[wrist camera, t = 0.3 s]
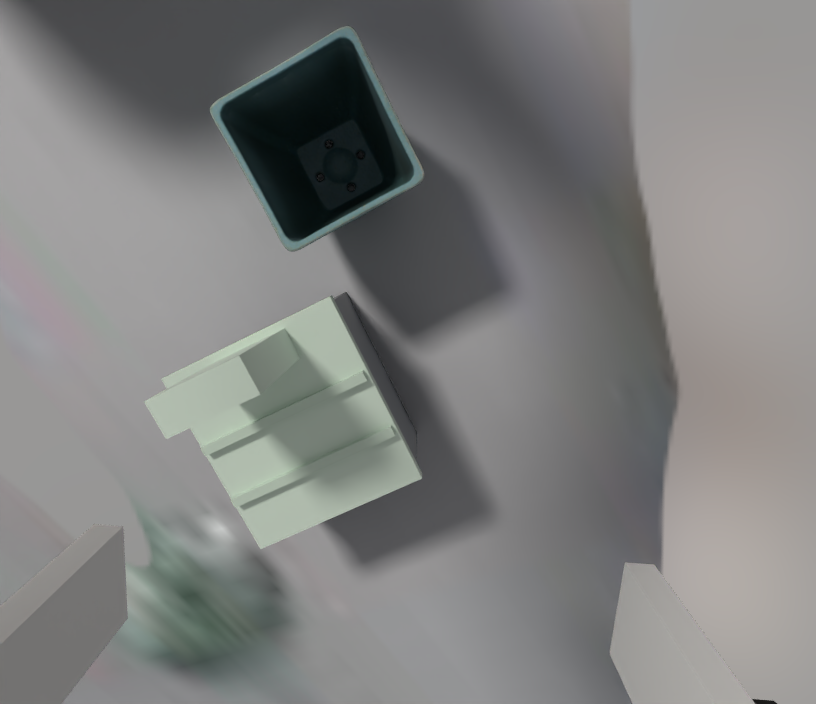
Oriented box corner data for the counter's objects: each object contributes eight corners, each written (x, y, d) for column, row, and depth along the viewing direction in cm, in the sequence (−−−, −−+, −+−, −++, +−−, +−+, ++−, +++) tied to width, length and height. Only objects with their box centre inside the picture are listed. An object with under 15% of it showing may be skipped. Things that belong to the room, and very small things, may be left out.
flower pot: (427, 194, 37) (428, 178, 28) (318, 253, 38) (287, 255, 29) (368, 75, 36) (350, 19, 27) (256, 139, 37) (205, 105, 28)
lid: (173, 372, 34) (77, 421, 24) (334, 294, 33) (298, 313, 23) (267, 536, 36) (212, 638, 26) (422, 468, 35) (422, 550, 25)
